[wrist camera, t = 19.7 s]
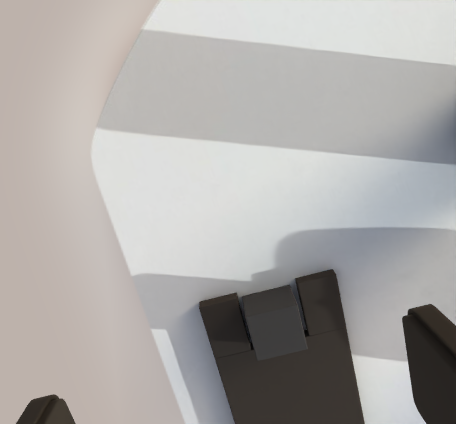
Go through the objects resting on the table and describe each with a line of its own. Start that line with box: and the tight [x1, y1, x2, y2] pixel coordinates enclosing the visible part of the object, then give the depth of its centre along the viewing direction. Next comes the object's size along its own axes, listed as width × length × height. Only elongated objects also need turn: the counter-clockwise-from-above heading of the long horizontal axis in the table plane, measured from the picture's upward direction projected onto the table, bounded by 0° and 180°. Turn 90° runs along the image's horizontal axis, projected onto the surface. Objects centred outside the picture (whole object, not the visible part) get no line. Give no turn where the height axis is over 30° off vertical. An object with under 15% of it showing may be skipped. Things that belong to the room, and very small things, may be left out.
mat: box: [199, 269, 365, 424], centre depth 42 cm, size 14×30×1 cm, turn 14°
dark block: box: [242, 285, 308, 361], centre depth 37 cm, size 5×5×4 cm
